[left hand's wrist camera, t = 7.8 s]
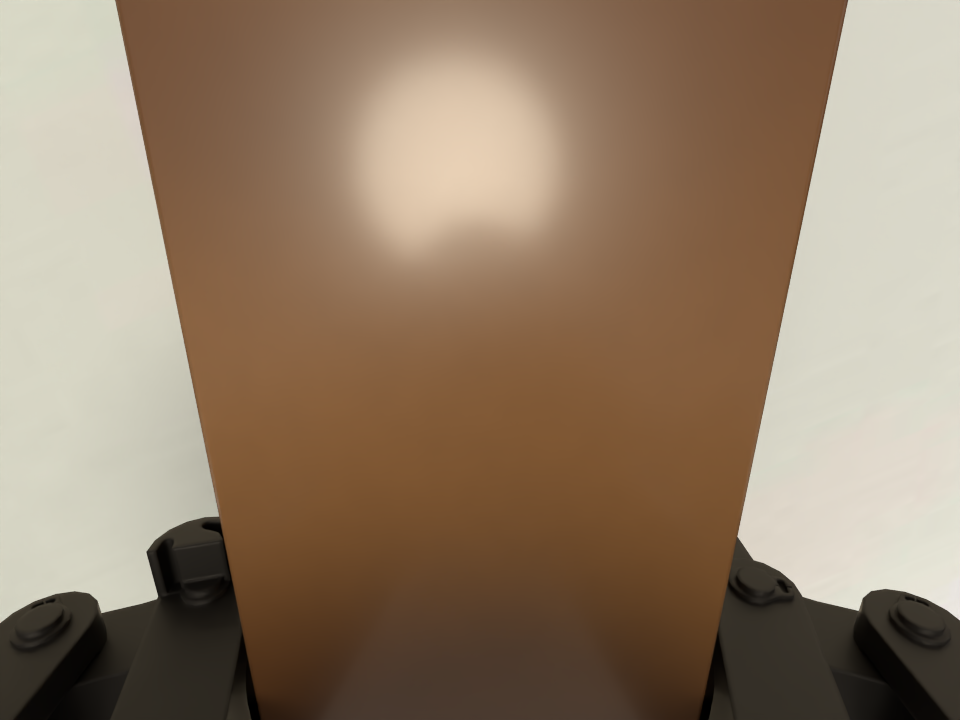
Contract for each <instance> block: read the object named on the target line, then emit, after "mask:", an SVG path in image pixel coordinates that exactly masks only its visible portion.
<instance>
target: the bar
mask: <svg viewBox="0 0 960 720" xmlns="http://www.w3.org/2000/svg"><path fill="white" fill-rule="evenodd" d="M115 1H116V6H117V11H118V16H119V21H120V26H121V31H122V36H123V41H124V46H125V51H126V56H127V60H128V65H129V70H130V75H131V80H132V85H133V90H134V95H135V100H136V105H137V110H138V115H139V120H140V125H141V130H142V135H143V140H144V145H145V150H146V155H147V160H148V165H149V170H150V175H151V180H152V185H153V189H154V194H155V199H156V204H157V209H158V214H159V219H160V224H161V229H162V234H163V239H164V244H165V249H166V254H167V259H168V264H169V269H170V274H171V279H172V284H173V289H174V294H175V299H176V304H177V309H178V314H179V318H180V323H181V328H182V333H183V338H184V343H185V348H186V353H187V358H188V363H189V368H190V373H191V378H192V383H193V388H194V393H195V398H196V403H197V408H198V413H199V418H200V423H201V428H202V433H203V438H204V443H205V448H206V452H207V457H208V462H209V467H210V472H211V477H212V482H213V487H214V492H215V497H216V502H217V507H218V512H219V517H220V522H221V527H222V532H223V537H224V542H225V547H226V552H227V557H228V562H229V567H230V572H231V577H232V581H233V586H234V591H235V596H236V601H237V606H238V611H239V616H240V621H241V626H242V631H243V636H244V641H245V646H246V651H247V656H248V661H249V666H250V671H251V676H252V681H253V686H254V691H255V696H256V701H257V706H258V710H259V715H260V720H699V719H700V714H701V709H702V705H703V700H704V695H705V690H706V685H707V680H708V675H709V671H710V666H711V661H712V656H713V651H714V646H715V642H716V637H717V632H718V627H719V622H720V617H721V613H722V608H723V603H724V598H725V593H726V588H727V584H728V579H729V574H730V569H731V564H732V559H733V554H734V550H735V545H736V540H737V535H738V530H739V525H740V521H741V516H742V511H743V506H744V501H745V496H746V492H747V487H748V482H749V477H750V472H751V467H752V463H753V458H754V453H755V448H756V443H757V438H758V433H759V429H760V424H761V419H762V414H763V409H764V404H765V400H766V395H767V390H768V385H769V380H770V375H771V371H772V366H773V361H774V356H775V351H776V346H777V342H778V337H779V332H780V327H781V322H782V317H783V312H784V308H785V303H786V298H787V293H788V288H789V283H790V279H791V274H792V269H793V264H794V259H795V254H796V250H797V245H798V240H799V235H800V230H801V225H802V221H803V216H804V211H805V206H806V201H807V196H808V191H809V187H810V182H811V177H812V172H813V167H814V162H815V158H816V153H817V148H818V143H819V138H820V133H821V129H822V124H823V119H824V114H825V109H826V104H827V100H828V95H829V90H830V85H831V80H832V75H833V70H834V66H835V61H836V56H837V51H838V46H839V41H840V37H841V32H842V27H843V22H844V17H845V12H846V8H847V3H848V0H115Z"/></svg>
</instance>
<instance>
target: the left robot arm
mask: <svg viewBox="0 0 960 720" xmlns="http://www.w3.org/2000/svg"><path fill="white" fill-rule="evenodd" d="M147 556H148V560H149V563H150V567H151V571H152V575H153V578H154V582H155V586H156V589H157V593H158V598H157V599H156V600H153V601H150V602H147V603H143V604H139V605H135V606H131V607H126V608H122V609H118V610H113V611H109V612H105V613H101V611H100V608H99V604H98V601H97V600H96V599H95V598H94V597H92V596H91V595H90V594H88V593H82V592H75V591H74V592H67V593H60V594H55V595H52V596H49V597H46V598H43V599H40V600H38V601H35V602H33V603H31V604H29V605H27V606H25V607H23V608H22V609H20V610H18V611H16V612H14V613H13V614H11V615H10V616H9V617H8V618H6V619H5V620H4V621H3V622H1V623H0V720H260V715H259V710H258V706H257V701H256V696H255V691H254V686H253V681H252V676H251V671H250V666H249V661H248V656H247V651H246V646H245V641H244V636H243V631H242V626H241V621H240V616H239V611H238V606H237V601H236V596H235V591H234V586H233V581H232V577H231V572H230V567H229V562H228V557H227V552H226V547H225V542H224V537H223V532H222V527H221V522H220V517H205V518H201V519H197V520H193V521H189V522H186V523H183V524H181V525H179V526H177V527H175V528H172V529H170V530H169V531H167V532H166V533H165V534H163V535H162V536H160V537H159V538H158V539H156V540H155V541H154V543H153V544H152V545H151V547H150V548H149V549H148V551H147ZM699 720H960V620H958V619H957V618H956V617H955V616H953V615H952V614H951V613H950V612H948V611H947V610H945V609H943V608H941V607H940V606H938V605H936V604H934V603H932V602H930V601H928V600H927V599H924V598H921V597H918V596H915V595H912V594H910V593H907V592H902V591H895V590H888V589H883V590H876V591H871V592H870V593H869V594H867V595H866V596H865V597H864V598H863V600H862V603H861V606H860V609H859V611H856V610H852V609H848V608H843V607H839V606H835V605H830V604H826V603H822V602H817V601H814V600H811V599H807V598H804V597H802V595H801V594H800V592H799V591H798V589H797V587H796V586H795V584H794V583H793V582H792V581H791V580H789V579H788V578H787V577H786V576H785V575H783V574H782V573H781V572H780V571H778V570H776V569H774V568H772V567H770V566H768V565H766V564H764V563H761V562H757V561H754V560H753V559H752V557H751V556H750V555H749V553H748V552H747V550H746V549H745V547H744V546H743V544H742V543H741V541H740V540H739V539H738V537H737V540H736V545H735V550H734V554H733V559H732V564H731V569H730V574H729V579H728V584H727V588H726V593H725V598H724V603H723V608H722V613H721V617H720V622H719V627H718V632H717V637H716V642H715V646H714V651H713V656H712V661H711V666H710V671H709V675H708V680H707V685H706V690H705V695H704V700H703V705H702V709H701V714H700V719H699Z"/></svg>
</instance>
